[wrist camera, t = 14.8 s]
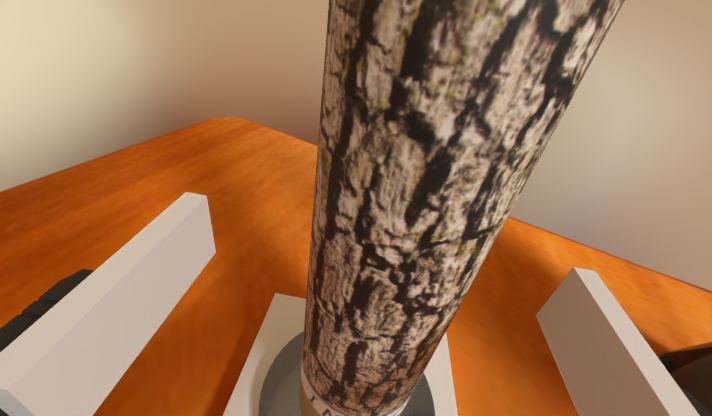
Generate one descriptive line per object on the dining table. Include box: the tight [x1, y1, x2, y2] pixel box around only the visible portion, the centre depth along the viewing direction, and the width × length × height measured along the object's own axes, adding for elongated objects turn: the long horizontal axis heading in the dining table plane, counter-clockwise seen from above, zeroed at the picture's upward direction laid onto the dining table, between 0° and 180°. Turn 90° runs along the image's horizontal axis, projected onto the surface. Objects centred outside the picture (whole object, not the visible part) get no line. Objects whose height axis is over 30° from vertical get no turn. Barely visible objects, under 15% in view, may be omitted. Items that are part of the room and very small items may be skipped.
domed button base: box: [223, 293, 458, 416], centre depth 22 cm, size 16×16×2 cm
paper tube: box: [299, 0, 625, 416], centre depth 14 cm, size 7×7×25 cm
